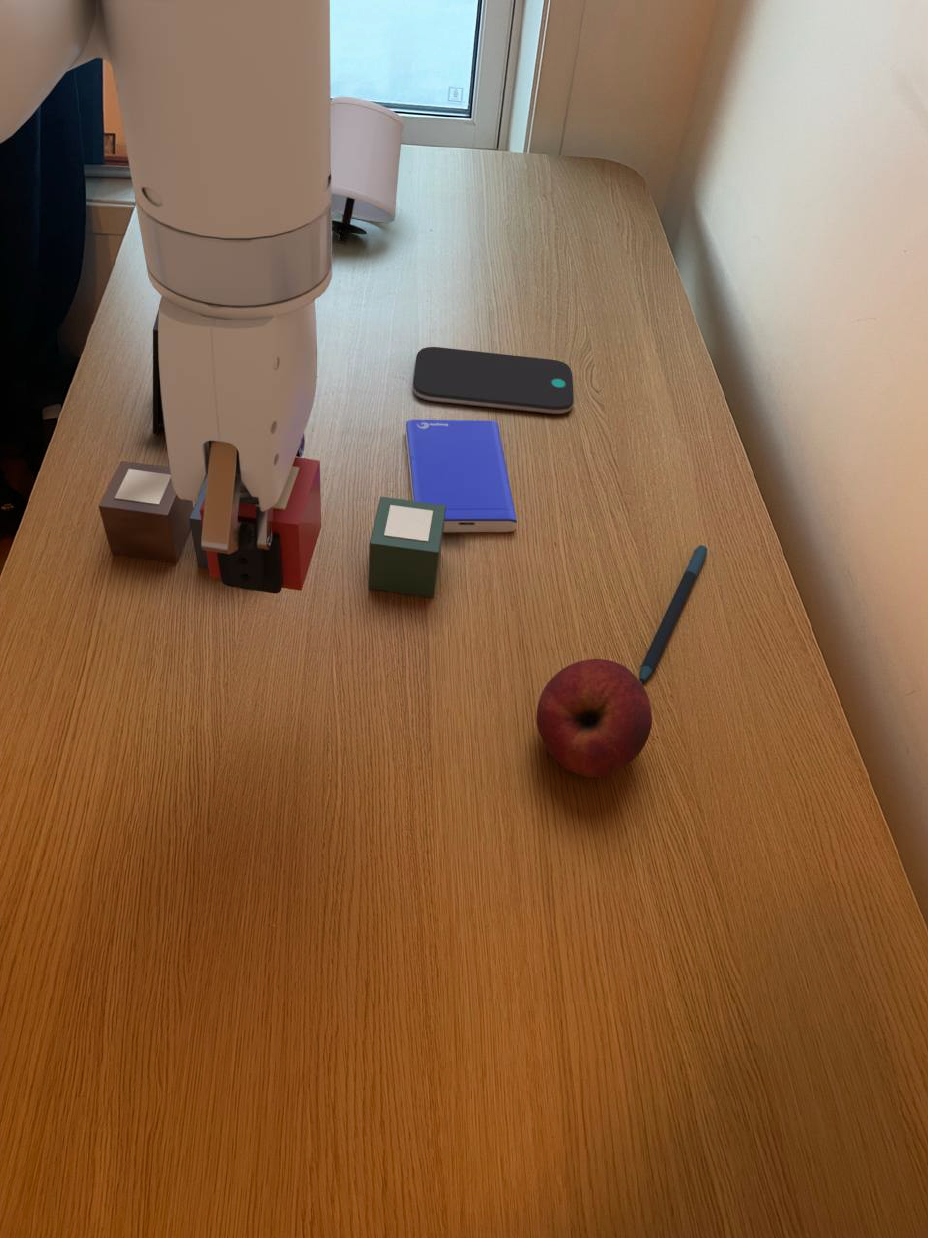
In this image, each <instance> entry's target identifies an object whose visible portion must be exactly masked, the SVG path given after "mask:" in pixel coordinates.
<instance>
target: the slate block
mask: <svg viewBox="0 0 928 1238" xmlns="http://www.w3.org/2000/svg"><path fill="white" fill-rule="evenodd" d="M207 477H208V474H207V476H206V479H205V481H204V483H203V485H202V488H201V490H200V492H199V494H198V497H197V499H196V501H195V503H194V505H193V507H194V508H193V510H192V513H191V515H190V518H189V520H190V526H191V529H190V532H191V535H192V542H193V548H194V553H195V559H196V565H197V567H205V568H209V566H208V559H207V553H206V550H202V547H201V539H202V522H201V516H200V508H201V506H202V503H203V501H204V499H205V496H206V487H207Z"/></svg>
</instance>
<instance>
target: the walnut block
mask: <svg viewBox="0 0 928 1238" xmlns="http://www.w3.org/2000/svg"><path fill="white" fill-rule="evenodd" d="M193 502H194V501H190V500H183V499H180V498H179V497H178V496H177V494H176V493H175V491H174V488H173V484H172V479H171V472H170V466H169V467H168V466H161V465H154V464H147V463H139V462H133V461H126V460H121V461H120V462H119V464H118V466H117V469H116V470H115V472H114V474H113V476H112V478H111V480H110V482H109V484H108V486H107V488H106V489H105V492H104V494H103V496H102V498H101V500H100V502H99V504H98V510H99V513H100V517H101V522H102V525H103V528H104V532H105V535H106V539H107V542H108V546H109V551H110V553H111V554H112V555H115V556H116V555H117V556H124V557H132V558H140V559H147V560H154V561H160V562H168V563H176V564H177V563H178V561H179V559H180V557H181V555H182V551H183V549H184V547H185V544H186V542H187V539H188V536H189V534H190V532H191V526H190V520H189V518H190V515H191V513H192V510H193V508H194V503H193Z"/></svg>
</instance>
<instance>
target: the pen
mask: <svg viewBox="0 0 928 1238" xmlns="http://www.w3.org/2000/svg"><path fill="white" fill-rule="evenodd" d="M707 555H708V548H707V546H705V545H704V544H703V545H698V546H697V547H696V548H695V549H694V551H693V554H692V556H691V558H690V560H689V562H688V564H687V566H686V568H685V570H684V572H683V574H682V577H681V580H680V582H679V584H678V586H677V588H676V590H675V592H674V594H673V596H672V599H671V601H670V603H669V605H668V607H667V609H666V611H665V614H664V616H663V617H662V620H661V622H660V624H659V626H658V629H657V631H656V632H655V635H654V637H653V639H652V642H651V644H650V645H649V647H648V650H647V652H646V654H645V656H644V659H643V661H642V663H641V664H640V672H639V681H640V683H641V684H642V685H643V683H644V682H646V681H647V680H648V679H649V678H650V677H651V675H653V673H655V670H656V668H657V666H658V664H659V661H660V659H661V657H662V655H663V652H664V650H665V648H666V646H667V643H668V642H669V639H670V638H671V635H672V633H673V630H674V628H675V626H676V624H677V621H678V620H679V617H680V615H681V613H682V610H683V609H684V606H685V604H686V602H687V599H688V597H689V596H690V593H691V590H692V588H693V586H694V584H695V581H696V580H697V577H698V575H699V573H700V571H701V568H702V566H703V564H704V562H705V560H706V558H707Z"/></svg>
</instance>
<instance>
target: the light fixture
mask: <svg viewBox="0 0 928 1238" xmlns="http://www.w3.org/2000/svg"><path fill="white" fill-rule="evenodd" d="M404 127H405V121H404V119H403V118H402V116H400V115H399V114H398V113H396V111H393V110H392V109H391V108H388V107H386V106H383V105H382V104H378V103H376V102H373V101H370V100H367V99H363V98H357V97H353V96H336V97H333V98H331V187H332V193H331V196H332V213H336V214H338V215H339V214H340V215H342V219H341V221H339V220H334V219H332V233H334V234H336V235H338V242H340V243H343V244H347V242H348V237H349V234H351V235H352V234H353V235H360V236H361V235H362V236H365V235H367V234H368V231H366V230H365V229H363V228H361V227H359V226H356V225H355V224H351V221H352V218H354V219H358V220H362V221H367V222H373V223H392V222H394V221H395V220H396V209H397V196H398V183H399V181H398V180H399V172H400V171H399V169H400V159H401V151H402V140H403V135H404V134H403V133H404Z"/></svg>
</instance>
